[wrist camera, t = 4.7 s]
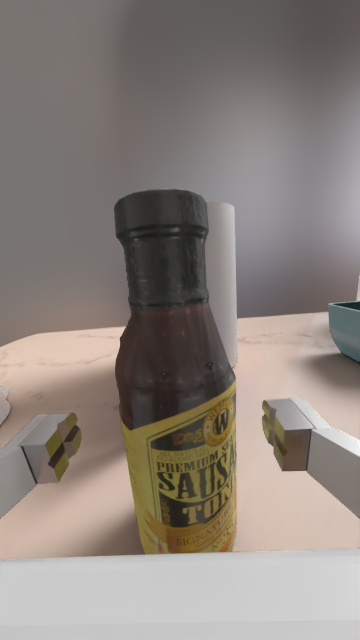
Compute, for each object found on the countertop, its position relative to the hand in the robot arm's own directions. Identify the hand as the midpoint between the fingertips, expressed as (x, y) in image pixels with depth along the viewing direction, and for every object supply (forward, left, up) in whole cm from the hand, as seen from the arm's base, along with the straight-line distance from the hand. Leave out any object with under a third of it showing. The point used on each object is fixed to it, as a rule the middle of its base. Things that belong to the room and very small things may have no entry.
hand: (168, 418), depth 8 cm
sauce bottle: (0, +2, -11) cm, 11 cm away
